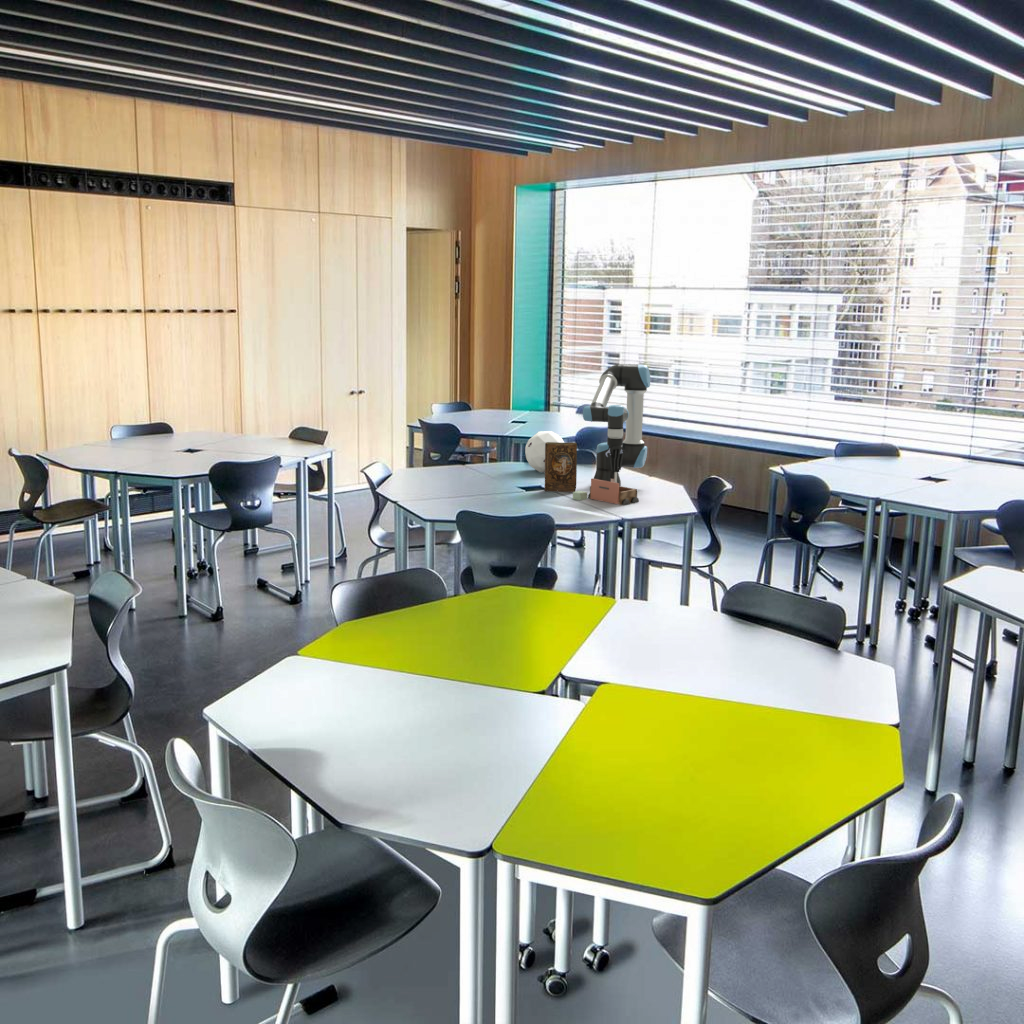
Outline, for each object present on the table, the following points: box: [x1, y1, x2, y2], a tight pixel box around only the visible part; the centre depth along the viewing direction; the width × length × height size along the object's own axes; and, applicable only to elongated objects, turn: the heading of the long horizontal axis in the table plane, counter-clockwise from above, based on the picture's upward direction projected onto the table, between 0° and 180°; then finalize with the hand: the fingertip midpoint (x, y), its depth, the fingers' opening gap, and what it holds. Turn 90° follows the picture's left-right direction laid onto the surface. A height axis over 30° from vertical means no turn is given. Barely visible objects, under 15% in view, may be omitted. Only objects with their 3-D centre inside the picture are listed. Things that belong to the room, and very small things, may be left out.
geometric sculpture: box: [524, 430, 565, 473], centre depth 568 cm, size 25×25×25 cm
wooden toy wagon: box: [587, 486, 640, 506], centre depth 485 cm, size 12×23×8 cm, turn 44°
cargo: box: [572, 490, 588, 501], centre depth 488 cm, size 5×5×5 cm
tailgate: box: [590, 478, 619, 505], centre depth 480 cm, size 1×17×10 cm, turn 44°
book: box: [544, 442, 578, 493], centre depth 512 cm, size 16×6×25 cm, turn 84°
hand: (613, 485), depth 484 cm, fingers closed
